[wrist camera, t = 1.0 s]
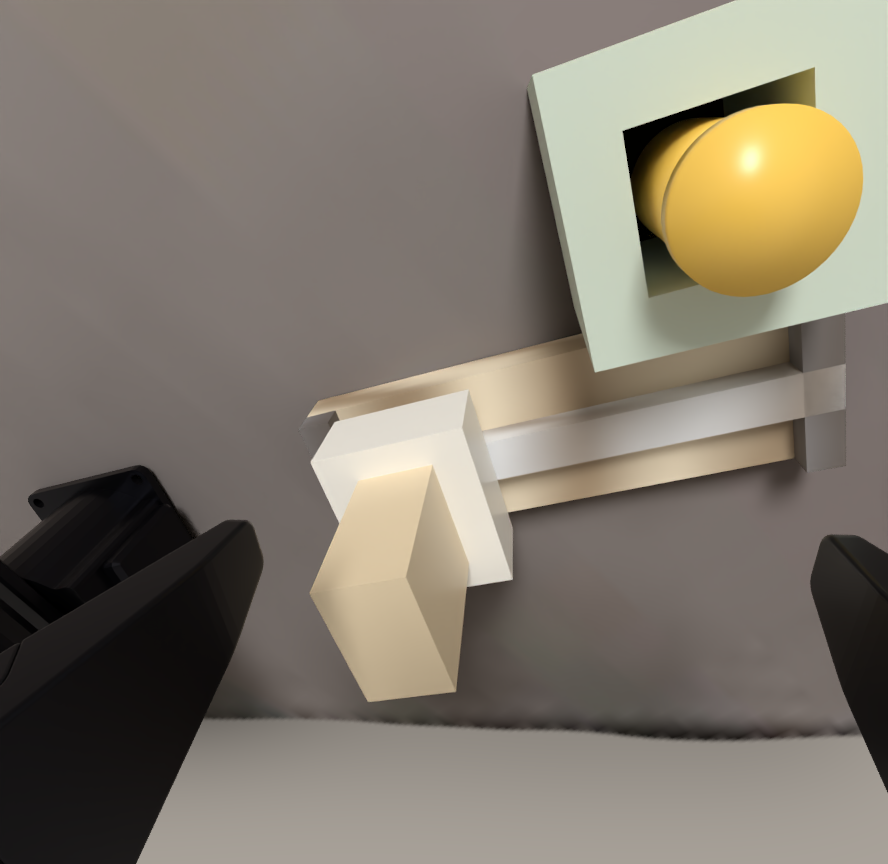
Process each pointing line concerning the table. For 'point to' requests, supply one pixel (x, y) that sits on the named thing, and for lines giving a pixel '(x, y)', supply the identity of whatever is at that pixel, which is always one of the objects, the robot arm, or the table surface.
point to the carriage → (408, 541)
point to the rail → (636, 411)
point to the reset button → (750, 195)
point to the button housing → (741, 86)
